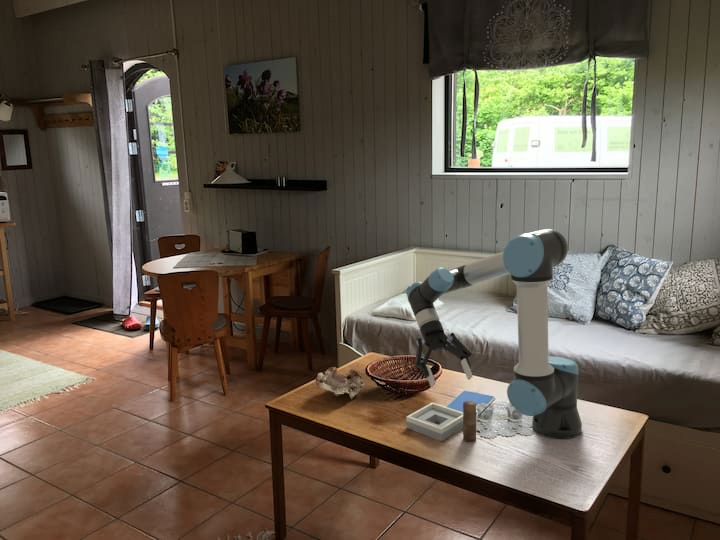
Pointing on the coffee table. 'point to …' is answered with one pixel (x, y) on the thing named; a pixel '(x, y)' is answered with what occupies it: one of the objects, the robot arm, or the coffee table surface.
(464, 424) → the peg
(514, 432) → the coffee table surface
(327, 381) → the mineral formation
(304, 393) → the coffee table surface
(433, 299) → the robot arm
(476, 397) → the blue rectangular panel
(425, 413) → the tray
